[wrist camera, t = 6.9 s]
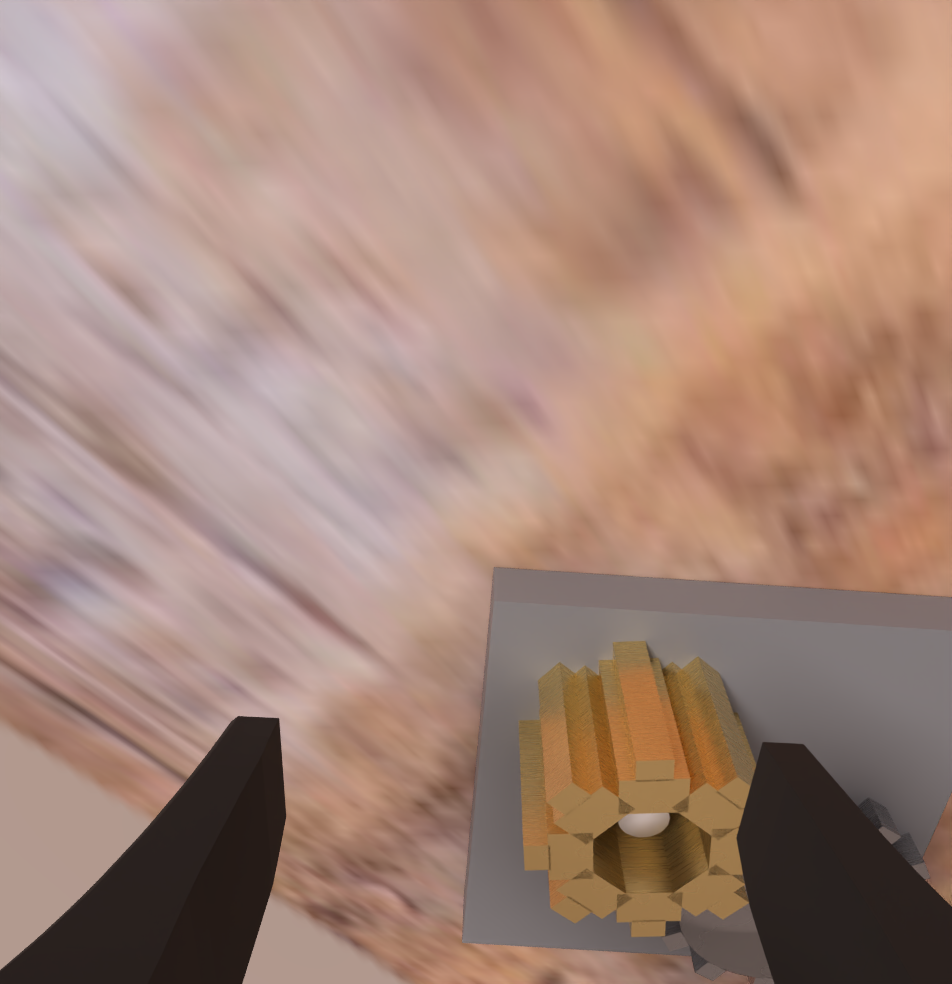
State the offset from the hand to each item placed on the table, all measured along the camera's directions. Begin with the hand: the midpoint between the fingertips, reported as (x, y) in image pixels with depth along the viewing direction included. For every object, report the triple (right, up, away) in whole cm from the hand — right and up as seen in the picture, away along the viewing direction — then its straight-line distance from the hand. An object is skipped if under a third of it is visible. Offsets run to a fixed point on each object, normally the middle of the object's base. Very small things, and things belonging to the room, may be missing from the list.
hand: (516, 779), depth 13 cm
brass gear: (+3, -2, +10) cm, 11 cm away
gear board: (+6, -4, +13) cm, 14 cm away
